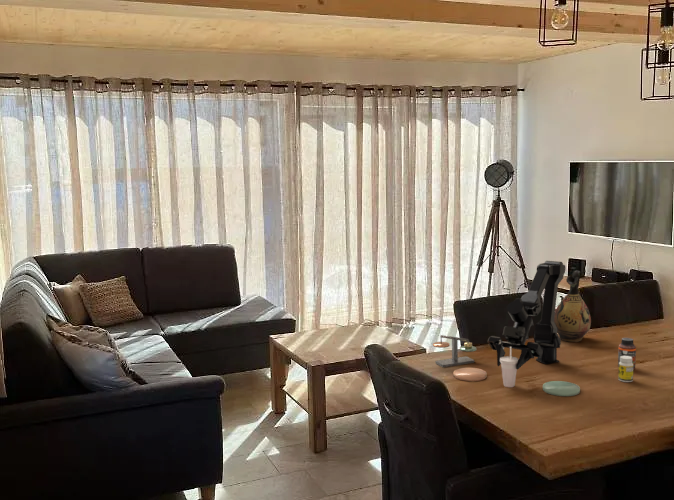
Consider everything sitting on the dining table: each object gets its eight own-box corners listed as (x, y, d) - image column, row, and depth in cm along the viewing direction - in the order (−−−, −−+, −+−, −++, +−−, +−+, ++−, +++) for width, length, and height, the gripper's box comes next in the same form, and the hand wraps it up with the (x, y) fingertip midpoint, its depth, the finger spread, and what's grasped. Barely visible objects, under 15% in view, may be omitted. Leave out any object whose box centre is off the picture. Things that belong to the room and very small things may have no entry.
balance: (470, 357, 265) (470, 328, 264) (479, 362, 259) (479, 332, 258) (430, 363, 259) (429, 334, 258) (438, 368, 253) (437, 337, 252)
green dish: (563, 382, 233) (563, 379, 233) (587, 392, 222) (587, 389, 221) (535, 387, 229) (535, 384, 229) (558, 398, 218) (558, 394, 217)
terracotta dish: (475, 369, 251) (475, 366, 251) (493, 378, 240) (493, 375, 240) (447, 373, 247) (447, 370, 247) (464, 382, 236) (464, 379, 236)
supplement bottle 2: (615, 378, 235) (616, 355, 234) (628, 377, 235) (629, 354, 234) (622, 382, 230) (623, 359, 229) (635, 382, 231) (636, 358, 230)
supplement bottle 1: (627, 372, 242) (628, 342, 240) (614, 367, 247) (614, 338, 245) (638, 369, 244) (639, 339, 243) (625, 365, 250) (626, 336, 248)
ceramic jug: (586, 345, 277) (587, 275, 273) (549, 341, 285) (549, 273, 281) (594, 336, 291) (595, 269, 287) (558, 332, 299) (559, 267, 295)
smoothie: (519, 388, 228) (519, 349, 226) (500, 388, 229) (500, 349, 227) (517, 382, 234) (518, 344, 232) (499, 382, 235) (499, 344, 234)
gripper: (489, 314, 237) (475, 351, 231) (539, 320, 226) (525, 359, 219) (499, 330, 245) (485, 367, 238) (548, 337, 233) (535, 376, 226)
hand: (507, 367), depth 230 cm, fingers open, 7 cm apart
